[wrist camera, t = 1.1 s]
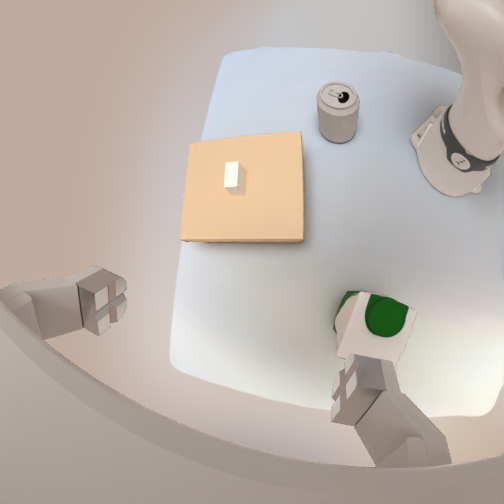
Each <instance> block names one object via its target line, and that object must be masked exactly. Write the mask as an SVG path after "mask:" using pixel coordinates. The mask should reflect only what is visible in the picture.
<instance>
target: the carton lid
mask: <svg viewBox="0 0 504 504" xmlns="http://www.w3.org/2000/svg"><path fill="white" fill-rule="evenodd" d="M180 240H183V241H186V242H229V241H304V176H303V145H302V135H301V131H299V132H281V133H267V134H256V135H246V136H237V137H229V138H221V139H214V140H207V141H201V142H195V143H190V148H189V156H188V163H187V171H186V179H185V188H184V197H183V207H182V217H181V229H180Z"/></svg>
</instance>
